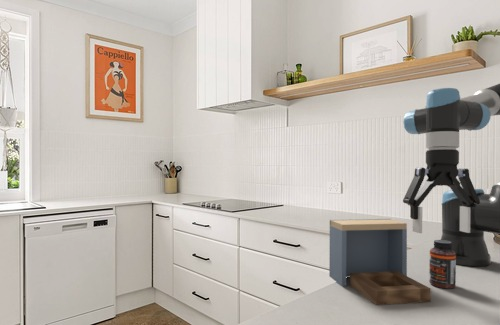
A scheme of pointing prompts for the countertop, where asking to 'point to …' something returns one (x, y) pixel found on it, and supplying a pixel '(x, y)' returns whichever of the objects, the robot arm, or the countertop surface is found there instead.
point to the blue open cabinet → (367, 247)
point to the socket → (389, 287)
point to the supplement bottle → (442, 265)
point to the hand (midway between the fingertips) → (441, 232)
